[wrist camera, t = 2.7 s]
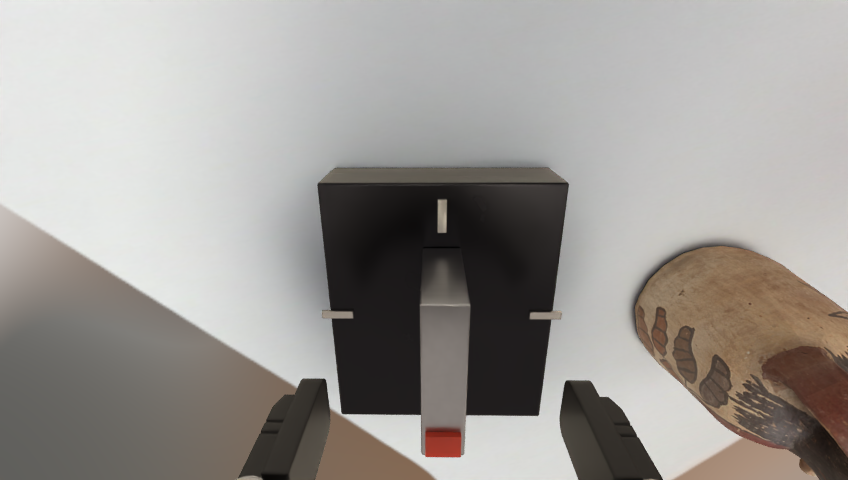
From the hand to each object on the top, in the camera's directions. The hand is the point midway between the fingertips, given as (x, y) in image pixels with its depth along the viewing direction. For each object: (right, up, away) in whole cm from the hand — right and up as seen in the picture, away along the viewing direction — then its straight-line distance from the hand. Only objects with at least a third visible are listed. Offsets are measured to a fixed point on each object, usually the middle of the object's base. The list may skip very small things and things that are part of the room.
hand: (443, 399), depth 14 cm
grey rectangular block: (0, +2, +5) cm, 5 cm away
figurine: (+14, +2, +8) cm, 16 cm away
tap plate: (0, +3, +7) cm, 8 cm away
